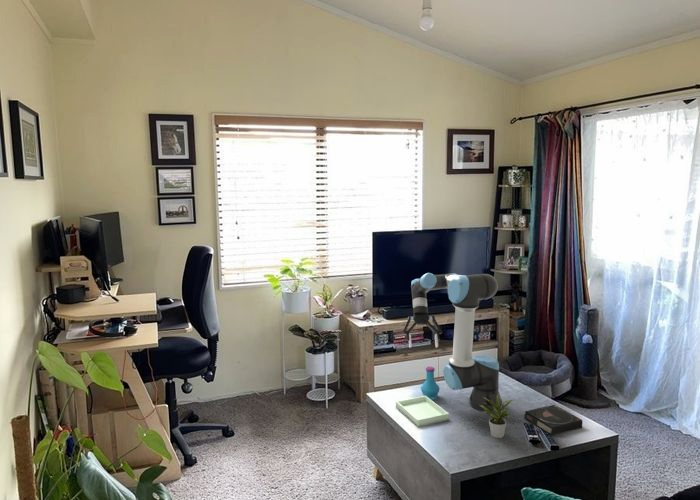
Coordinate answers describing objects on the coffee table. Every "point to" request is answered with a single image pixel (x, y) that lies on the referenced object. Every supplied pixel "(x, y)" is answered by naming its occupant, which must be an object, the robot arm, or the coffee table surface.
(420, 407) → the parts tray
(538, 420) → the dark brown book
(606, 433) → the coffee table surface
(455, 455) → the coffee table surface
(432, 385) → the perfume bottle
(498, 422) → the house plant
